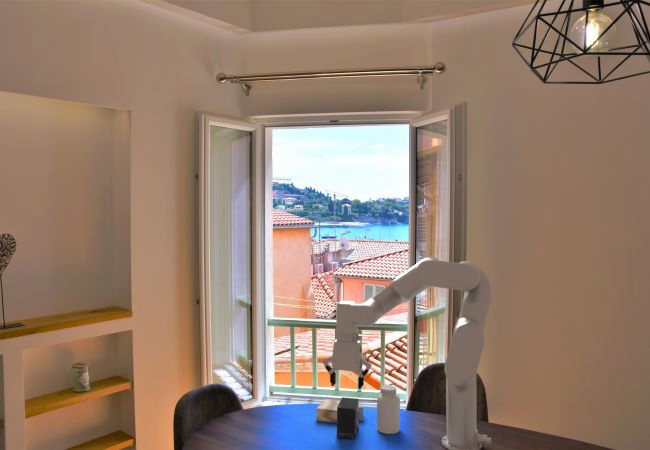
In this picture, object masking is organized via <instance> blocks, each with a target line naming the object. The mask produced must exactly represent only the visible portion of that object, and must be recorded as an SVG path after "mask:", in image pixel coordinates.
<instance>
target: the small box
mask: <svg viewBox="0 0 650 450" xmlns="http://www.w3.org/2000/svg"><path fill="white" fill-rule="evenodd" d="M359 399H360V398H353V397H352V398H351V397H343V396H342V397H341V399H340V400H339V401H340V403H339V405H338V407H337V423H336V438H338V439H348V440H349V439H351V440H354V439H355V438H356V435H357V433H358V431H359V430H358V429H359V425H360V423H359V422H360V421H359V403H360V401H359Z"/></svg>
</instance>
